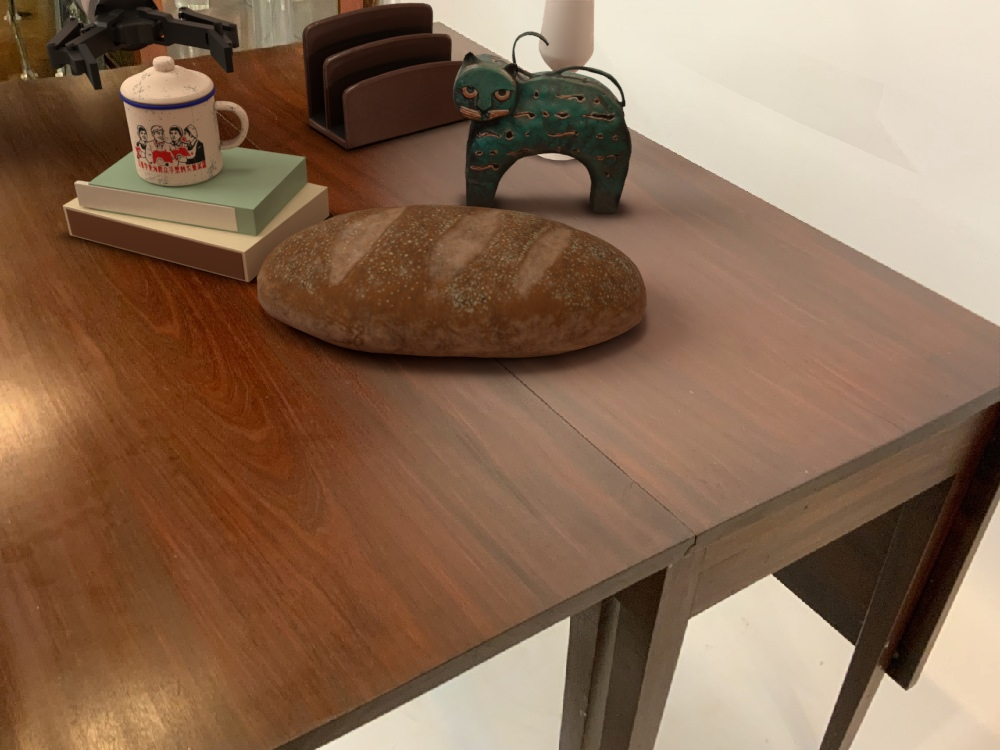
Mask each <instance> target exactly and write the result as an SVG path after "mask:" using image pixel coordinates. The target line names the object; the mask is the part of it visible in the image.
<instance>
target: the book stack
mask: <svg viewBox="0 0 1000 750" xmlns="http://www.w3.org/2000/svg"><path fill="white" fill-rule="evenodd" d="M221 153H222V160H223V166H222V169H221V171H220V172H219V173H218V174H217V175H216V176H214V177H213V178H211V179H209V180H206V181H204V182H201V183H197V184H193V185H186V186H162V185H157V184H153V183H150V182H148V181H146V180H144V179H143V178H141V177H140V176H139V174H138V172H137V169H136V163H135V158H134V153H133V150H132V151H130V152H128V153H127V154H126V155H125V156H123V157H122V158H121V159H119V160H117V162H115V163H113V164H112V165H111V166H109V167H108V168H106V170H103V172H101V173H100V174H98V175H97V176H96V177H95V178H93V179H92V180H91V181H84V180H76V181H75V182H74V189H75V192H76V197H75V198H73V199H71V200H70V201H68V202H66V203H64V204H62V209H63V212H64V216H65V217H64V218H65V220H66V224H67V228H68V229H67V230H68V233H69V236H71V237H75V238H78V239H82V240H87V241H90V242H94V243H98V244H102V245H106V246H109V247H113V248H115V249H121V250H124V251H127V252H132V253H134V254H135V253H136V254H139V255H144V256H146V257H151V258H155V259H159V260H162V261H166V262H170V263H174V264H177V265H181V266H185V267H188V268H191V269H195V270H199V271H203V272H207V273H211V274H215V275H219V276H223V277H226V278H231V279H233V280H237V281H242V282H245V283H250V282H252V281H253V280H254V279H255V278H257V276H258V274H259V271H260V269H261V266H262V264H263V263H264V261H265V259H266V258H267V256H268V255H269V254H270V253H271V252H272V251H273V250H274V248H275V247H276V246H278V245H279V244H280V243H281V242H283V241H284V240H286V239H287V238H289V237H290V236H292V235H293V234H295V233H297V232H299V231H301V230H304V229H306V228H308V227H310V226H312V225H315V224H317V223H319V222H322V221H325V220H327V219H328V218H329V216H330V206H329V205H330V204H329V190H328V188H329V187H328V186H324V185H321V184H316V183H312V182H308V170H307V160H306V159H307V158H306V156H300V155H294V154H286V153H280V152H273V151H266V150H259V149H254V148H245V147H240V146H237V147H236V148H233V149H229V150H221Z"/></svg>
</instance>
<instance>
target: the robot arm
mask: <svg viewBox="0 0 1000 750" xmlns="http://www.w3.org/2000/svg"><path fill="white" fill-rule="evenodd" d="M74 1H75V4H76V5H78V7H79V8H80V9H81V10H82V12H83V13H84V15H85V16H86V18H87V19H88V20H89V22H90V23H84V21H83V20H79V19H78V17H75V16H70V17H67V18H66V20H65V21H66V24H65V25H64V26H62V28H61V29H60V30H59V31H58V32H57V33H56V34H55V35H54V36H53V37H52V38H51V39H50V40H49V41H48V42H46V43H45V46H46V50H47V55H48V59H49V64H50V68H51V69H53V70H60V69H63V68H64V67H65V66H66V65H68V66H69V68H70V73H71V75H72V76H75V77H79V76H83V75H84V74H85V75H86V78H88V81H89V83H90V84H91V86H92V88H93V90H94V91H101V90H103V84H102V80H101V79H102V78H101V74H100V69H99V64H98V61H97V59H98V58H99V57H102V56H103V55H104V54H107V53H114V54H115V53H116V52H117V51H120V52H137V51H140V50H142V49H145V48H147V47H148V46H152V45H157V46H163V47H171V46H173V45H181V46H185V47H192V48H195V49H196V48H197V49H201V50H208V51H209V54H210V56H211V57H212V58H213V59H214V60H215V62H217V64H218V65H219V66H220V67H221V68H222V69H223V70H224V72H225V73H226V74H232V73H235V70H234V62H233V56H234V49H239V47H240V40H239V31H238V24H237V23H234V22H231V21H227V20H225V19H220V18H217V17H215V16H210V15H207V14H204V13H201V12H197V11H194V10H193V9H192V8H190V7H188V6H180V7H178V11H177V14H171V13H170V12H165V11H162V10H160V9H159V7H158V6H157V4H156V2H155V1H154V0H74Z"/></svg>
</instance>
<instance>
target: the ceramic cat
mask: <svg viewBox="0 0 1000 750" xmlns="http://www.w3.org/2000/svg"><path fill="white" fill-rule="evenodd" d="M526 36H534V37H536V38H538V39H539V40H540V39H541V40H542V41H544V42H545V43H546V45H547V46H548V45H549V43H548V41H547V40H546V39H545V37H544V36H542V35H541V33H539V32H536V31H532V30H531V31H529V30H528V31H525V32H523V33H521V34H518V36H517V37H516V38H515V40H514V41H513V45H512V50H511V60H512V61H511V62H510V63H509V62H507V61H506V60H505V59H503V58H501V57H500V56H497V55H493V54H489V53H482V54H477V55H475V53H474V52H472V51H471V50H470V51H468V52H467V53H466V54H464V57H463V59H462V61H463V62H462V66H461V67H460V69H459V71H458V73H457V76H456V79H455V82H454V88H453V101H454V104H455V106H456V108H457V110H458V112H459V113H460V114H461V115H462V116H464V117H465V118H467V119H466V120H470V126H469V128H468V129H469V130H468V134H467V140H466V146H465V147H466V149H465V150H466V151H465V168H464V176H465V177H464V178H465V206H470V207H485V208H494V206H495V198H496V194H497V190H498V188H499V185H500V182H501V180H502V178H503V177H504V175H505V174H506V173H507V172H508V171H509V170H510V169H511V167H512V166H513V165H514V164H515V163H517V162H518V161H519V160H522V159H523V158H528V157H533V156H538V155H539V154H549V153H555V154H562V155H566V156H570V157H572V158H575V160H577V162H579V163H580V164H581V165H583V167H585V169H586V171H587V172H588V175H589V180H590V189H589V196H588V197H589V198H588V200H589V205H590V209H591V211H592V212H594V213H597V214H600V215H601V214H616V213H618V210H619V206H620V202H621V197H622V194H623V190H624V187H625V183H626V179H627V178H628V174H629V168H630V161H631V157H632V153H633V152H632V150H633V144H632V143H633V141H632V136H631V131H630V130H629V127H628V124H627V122H626V119H625V116H626V115H625V111H624V108H625V107H626V105H627V104H626V103H627V102H626V98H625V94H624V91H623V87H622V86H621V84H620V83H619V82H618V81H619V80H617V79H616V78H615V77H614V76H613V75H612V74H611V73H609V72H606V71H604V70H602V69H599V68H596V67H590V66H586V65H584V66H571V67H565V68H561V69H559V70H554V71H552V70H545V71H544V70H543V71H537V72H529V71H526V70H524V69H522V68H520V67H518V63H517V60H516V52H515V50H516V46H517V43H518V41H519V40H520V39H521V38H524V37H526ZM569 70H578V71H585V72H589V73H591V74H597V75H600V76H603V77H605V78H606V79H608V80H609V81H610V82H611V83H612V84H613V85H614V86H615V87H616V88H617V90H618V91H619V94H620V97H621V101H620V100H619V99H618V97H617V96H616V95H615V94H614V92H613V91H612V90H611V89H610V88H609V87H608V86H606V85H605V84H604V83H602V82H601V81H600V80H598V79H596V78H594V77H592V76H589V75H585V74H581V73H577V72H576V73H573V72H566V71H569Z"/></svg>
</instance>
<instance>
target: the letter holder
mask: <svg viewBox="0 0 1000 750" xmlns="http://www.w3.org/2000/svg"><path fill="white" fill-rule="evenodd" d="M433 32H434V11H433V7H432V5H430V4H428V3H424V2H396V3H388V4H387V3H386V4H380V5H372V6H368V7H363V8H359V9H354V10H350V11H346V12H342V13H339V14H335V15H331V16H328V17H325V18H322V19H319V20H317V21H314V22H311V23H309V24H307V25H306V26H305V27H304V29H303V31H302V34H301V35H302V36H301V37H302V52H303V66H304V78H305V79H304V80H305V93H306V103H307V106H306V108H307V122H308V126H309V127H310V128H313V129H315V130H316V131H317V132H318V133H321V134H322V135H323V136H325V137H327V138H328V139H330V140H331V141H333V142H334V143H336V144H337V145H339V146H341V147H342V148H344V149H345V150H347V151H348V150H352V149H356V148H360V147H363V146H367V145H371V144H376V143H380V142H383V141H386V140H390V139H394V138H398V137H402V136H406V135H410V134H413V133H417V132H421V131H425V130H428V129H432V128H436V127H440V126H444V125H448V124H452V123H455V122H460V121H463V120H468V119H467V118H465V117H464V116H462V115H461V114H460V113H459V112H458V110H457V108H456V106H455V104H454V101H453V88H454V82H455V79H456V76H457V73H458V71H459V69H460V67H461V66H462V62H463V60H452V51H453V48H452V47H453V41H452V37H451V35H450V34H447V33H433Z"/></svg>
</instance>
